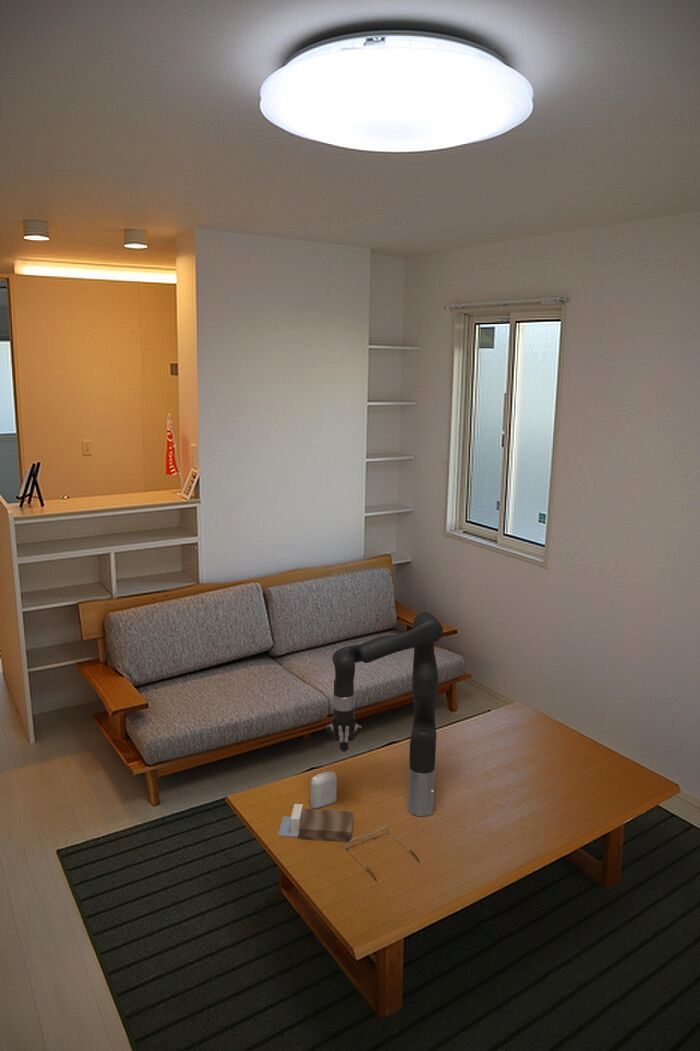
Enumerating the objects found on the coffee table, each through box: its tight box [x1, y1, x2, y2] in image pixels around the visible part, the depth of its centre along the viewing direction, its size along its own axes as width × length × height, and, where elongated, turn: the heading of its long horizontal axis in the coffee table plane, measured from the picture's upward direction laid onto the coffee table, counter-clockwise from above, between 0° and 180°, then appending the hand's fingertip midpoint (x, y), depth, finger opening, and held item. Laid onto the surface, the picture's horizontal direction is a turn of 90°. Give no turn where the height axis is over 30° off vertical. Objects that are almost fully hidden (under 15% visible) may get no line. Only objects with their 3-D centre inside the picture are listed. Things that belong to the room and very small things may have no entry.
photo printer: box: [309, 771, 338, 809], centre depth 281 cm, size 10×4×12 cm, turn 123°
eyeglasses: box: [345, 826, 421, 882], centre depth 253 cm, size 18×19×4 cm
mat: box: [277, 815, 299, 838], centre depth 268 cm, size 7×11×1 cm, turn 176°
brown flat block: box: [298, 808, 355, 843], centre depth 266 cm, size 18×12×4 cm, turn 86°
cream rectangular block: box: [290, 803, 304, 836], centre depth 267 cm, size 6×9×3 cm
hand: (344, 750), depth 269 cm, fingers closed
